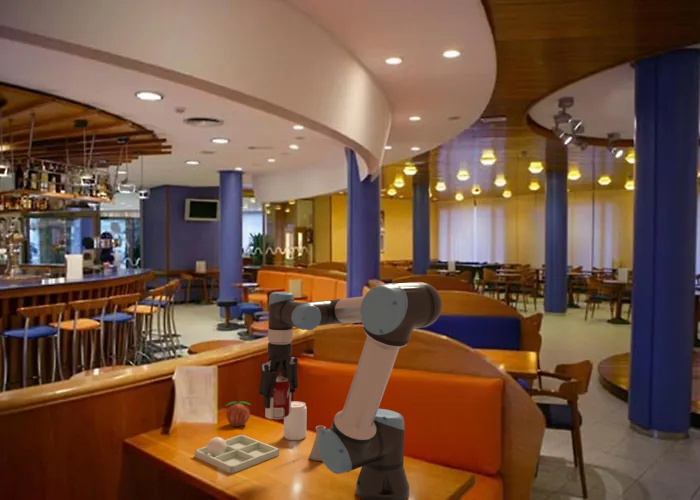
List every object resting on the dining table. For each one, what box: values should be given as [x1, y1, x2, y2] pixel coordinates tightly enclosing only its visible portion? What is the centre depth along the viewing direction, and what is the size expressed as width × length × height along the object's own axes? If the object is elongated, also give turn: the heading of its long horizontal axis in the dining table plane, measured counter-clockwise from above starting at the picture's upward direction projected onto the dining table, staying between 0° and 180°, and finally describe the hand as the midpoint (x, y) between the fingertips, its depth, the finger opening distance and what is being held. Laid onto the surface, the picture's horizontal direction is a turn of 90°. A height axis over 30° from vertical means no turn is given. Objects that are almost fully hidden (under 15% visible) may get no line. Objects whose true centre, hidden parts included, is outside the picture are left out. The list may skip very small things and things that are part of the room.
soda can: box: [271, 375, 290, 420], centre depth 173 cm, size 7×7×12 cm
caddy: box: [194, 434, 280, 475], centre depth 179 cm, size 19×19×3 cm
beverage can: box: [283, 400, 308, 441], centre depth 199 cm, size 8×8×12 cm
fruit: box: [224, 398, 252, 427], centre depth 211 cm, size 9×10×10 cm
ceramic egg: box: [206, 436, 226, 457], centre depth 179 cm, size 6×6×6 cm
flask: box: [308, 425, 327, 462], centre depth 182 cm, size 7×7×10 cm
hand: (278, 414), depth 173 cm, fingers closed on soda can, 7 cm apart
